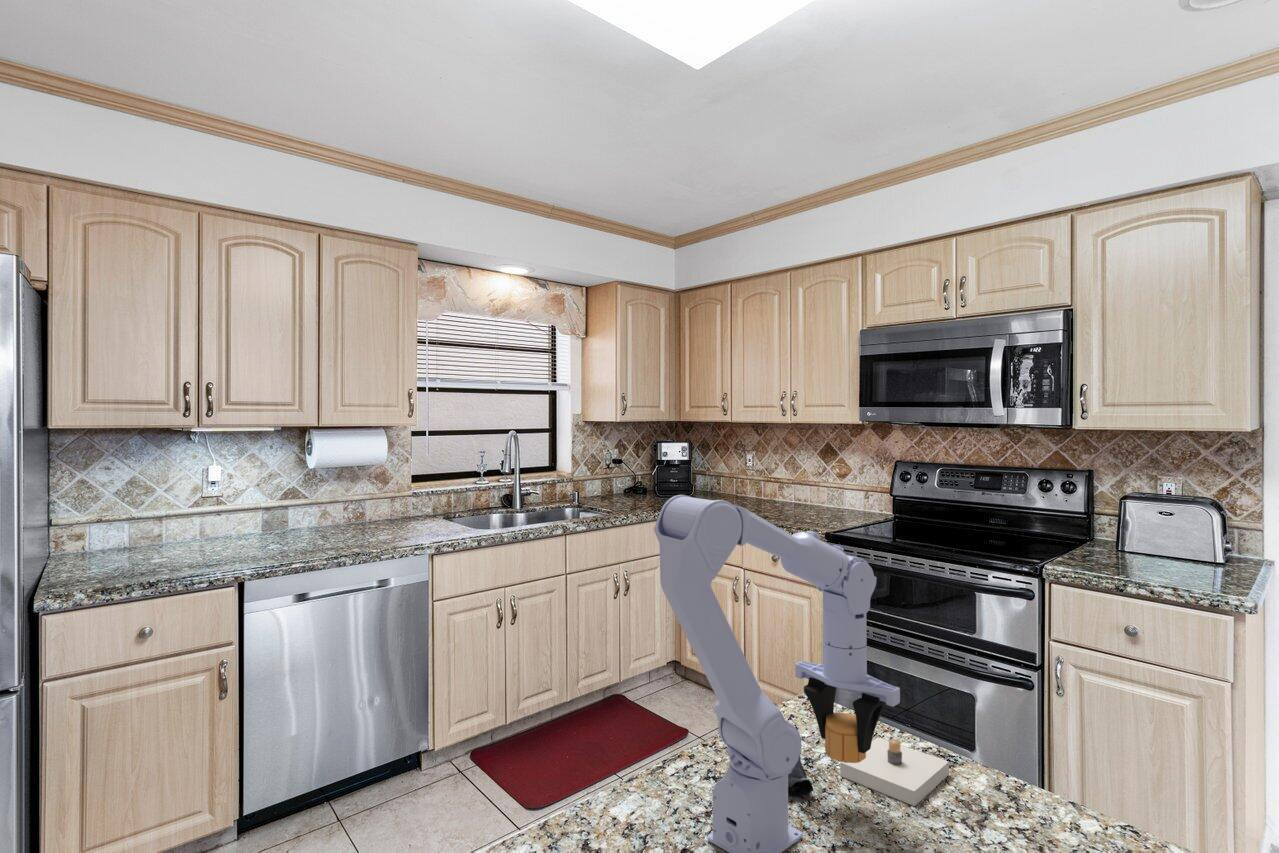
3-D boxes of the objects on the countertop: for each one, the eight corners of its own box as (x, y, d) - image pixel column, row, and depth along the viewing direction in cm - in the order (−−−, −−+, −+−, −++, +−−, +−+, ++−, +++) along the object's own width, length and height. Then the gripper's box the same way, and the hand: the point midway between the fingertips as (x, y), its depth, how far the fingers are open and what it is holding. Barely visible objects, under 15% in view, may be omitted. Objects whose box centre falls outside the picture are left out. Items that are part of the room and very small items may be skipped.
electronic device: (819, 811, 90) (793, 745, 104) (815, 774, 89) (790, 713, 104) (753, 819, 90) (736, 752, 105) (748, 782, 89) (732, 720, 104)
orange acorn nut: (853, 766, 84) (853, 731, 84) (819, 753, 88) (819, 720, 88) (871, 754, 88) (871, 720, 88) (838, 741, 91) (837, 709, 92)
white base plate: (914, 806, 88) (914, 769, 88) (840, 776, 96) (840, 741, 96) (949, 775, 96) (948, 741, 96) (878, 749, 104) (878, 718, 104)
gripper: (909, 648, 86) (910, 751, 85) (813, 626, 96) (813, 718, 96) (885, 660, 81) (886, 770, 81) (786, 635, 91) (787, 732, 91)
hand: (845, 743), depth 88 cm, fingers closed on orange acorn nut, 5 cm apart
